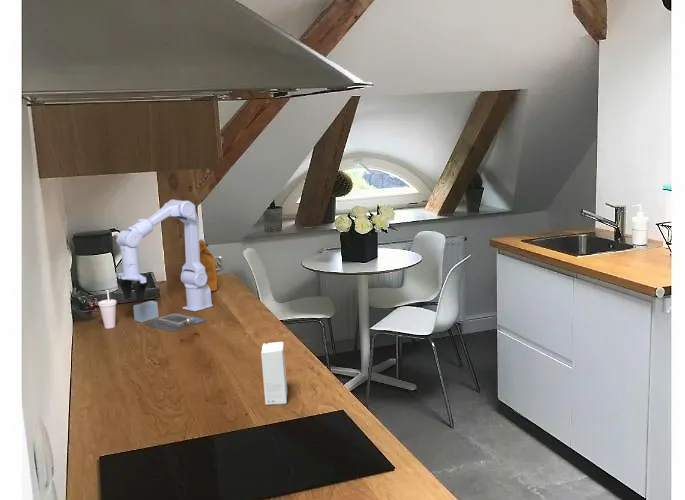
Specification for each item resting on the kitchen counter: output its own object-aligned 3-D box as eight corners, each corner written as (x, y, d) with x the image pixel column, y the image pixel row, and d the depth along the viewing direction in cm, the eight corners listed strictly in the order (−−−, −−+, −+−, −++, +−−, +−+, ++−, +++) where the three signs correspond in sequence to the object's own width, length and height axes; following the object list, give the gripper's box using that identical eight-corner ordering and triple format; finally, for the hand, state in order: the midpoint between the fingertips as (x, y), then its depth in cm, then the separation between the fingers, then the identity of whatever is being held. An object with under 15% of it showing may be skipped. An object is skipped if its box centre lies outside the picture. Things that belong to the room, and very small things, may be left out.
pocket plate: (179, 314, 270) (179, 307, 269) (206, 320, 260) (206, 313, 259) (145, 324, 257) (144, 317, 257) (172, 332, 247) (171, 324, 247)
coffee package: (215, 285, 312) (211, 237, 308) (219, 292, 300) (216, 242, 296) (192, 288, 309) (189, 239, 305) (196, 294, 297) (192, 244, 293)
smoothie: (115, 329, 253) (111, 292, 250) (98, 329, 253) (94, 292, 250) (121, 324, 259) (117, 287, 256) (104, 324, 259) (100, 288, 257)
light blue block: (152, 315, 269) (150, 300, 268) (158, 317, 267) (157, 302, 266) (134, 320, 263) (133, 305, 262) (141, 322, 261) (139, 307, 259)
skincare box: (286, 404, 183) (284, 350, 180) (263, 405, 183) (260, 352, 180) (287, 392, 191) (284, 340, 188) (265, 393, 191) (262, 341, 188)
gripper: (109, 263, 253) (113, 299, 255) (133, 267, 244) (136, 305, 246) (126, 259, 258) (129, 295, 261) (149, 264, 249) (153, 300, 252)
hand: (134, 299), depth 254 cm, fingers open, 7 cm apart
